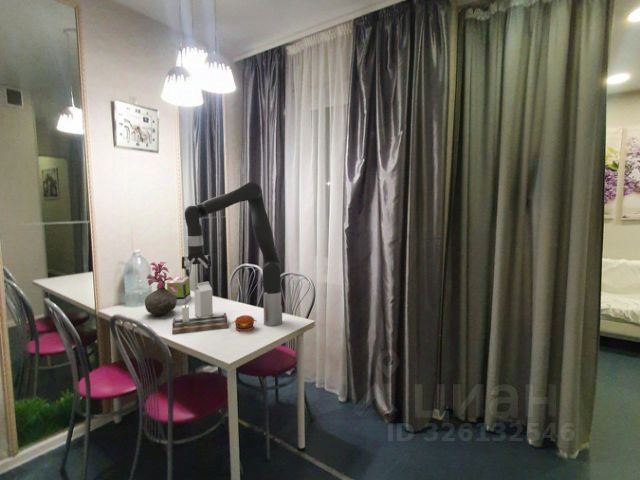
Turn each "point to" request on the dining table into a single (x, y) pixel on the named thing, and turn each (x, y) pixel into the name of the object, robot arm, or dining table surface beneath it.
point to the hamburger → (244, 323)
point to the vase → (160, 293)
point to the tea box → (181, 289)
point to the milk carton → (203, 299)
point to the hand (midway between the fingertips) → (197, 275)
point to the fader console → (199, 324)
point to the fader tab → (185, 313)
